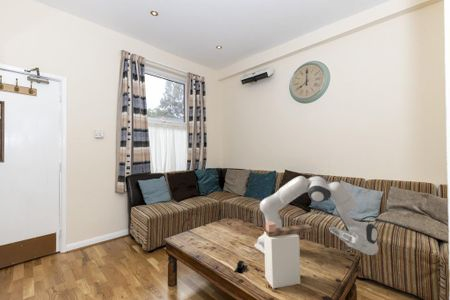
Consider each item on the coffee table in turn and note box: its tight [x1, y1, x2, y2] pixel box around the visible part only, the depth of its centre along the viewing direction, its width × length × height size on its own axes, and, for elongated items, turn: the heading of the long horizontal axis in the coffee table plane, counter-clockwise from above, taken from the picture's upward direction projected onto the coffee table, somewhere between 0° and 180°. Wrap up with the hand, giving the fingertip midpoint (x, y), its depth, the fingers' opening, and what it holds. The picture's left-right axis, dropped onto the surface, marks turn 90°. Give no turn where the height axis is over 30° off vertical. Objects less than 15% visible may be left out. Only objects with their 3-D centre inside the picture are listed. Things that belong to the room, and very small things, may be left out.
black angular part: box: [233, 260, 248, 275], centre depth 129 cm, size 12×7×5 cm, turn 154°
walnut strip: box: [266, 223, 313, 237], centre depth 118 cm, size 26×4×2 cm, turn 102°
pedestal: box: [263, 231, 301, 289], centre depth 117 cm, size 16×10×26 cm, turn 102°
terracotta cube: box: [265, 221, 276, 232], centre depth 115 cm, size 4×4×4 cm
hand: (335, 231), depth 124 cm, fingers open, 8 cm apart
